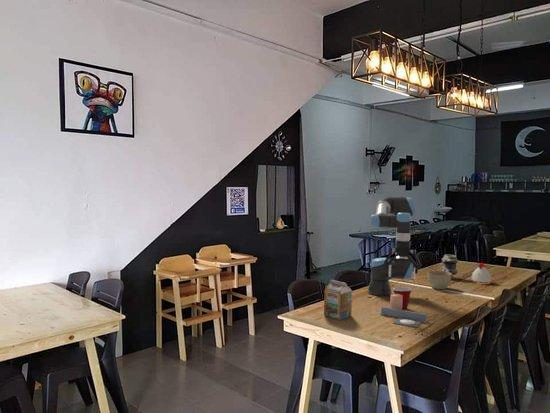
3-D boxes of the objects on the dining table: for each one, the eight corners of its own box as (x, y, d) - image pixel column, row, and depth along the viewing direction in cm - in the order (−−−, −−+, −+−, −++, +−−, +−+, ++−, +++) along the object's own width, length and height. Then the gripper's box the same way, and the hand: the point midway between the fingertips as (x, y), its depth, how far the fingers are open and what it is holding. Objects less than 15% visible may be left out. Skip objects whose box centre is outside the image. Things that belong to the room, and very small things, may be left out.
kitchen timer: (467, 282, 321) (468, 262, 320) (475, 279, 330) (476, 260, 330) (486, 285, 311) (487, 265, 310) (494, 282, 320) (495, 263, 319)
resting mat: (392, 323, 221) (392, 322, 221) (398, 317, 230) (398, 317, 230) (416, 327, 214) (416, 326, 214) (421, 322, 224) (421, 321, 224)
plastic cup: (397, 304, 256) (398, 284, 256) (414, 308, 249) (415, 288, 248) (388, 308, 249) (388, 287, 248) (405, 312, 241) (406, 291, 240)
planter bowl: (451, 286, 304) (452, 271, 304) (450, 291, 290) (451, 276, 289) (427, 284, 311) (428, 269, 311) (425, 289, 296) (426, 273, 296)
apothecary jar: (459, 280, 327) (460, 256, 326) (442, 279, 328) (443, 256, 328) (455, 276, 338) (455, 254, 338) (439, 276, 340) (439, 253, 339)
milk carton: (323, 315, 232) (324, 281, 231) (335, 311, 240) (336, 278, 239) (339, 320, 225) (340, 284, 224) (351, 316, 232) (352, 281, 231)
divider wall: (380, 314, 235) (380, 307, 235) (382, 313, 238) (382, 306, 238) (426, 322, 222) (426, 315, 222) (427, 321, 225) (427, 313, 225)
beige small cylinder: (388, 313, 238) (389, 295, 238) (392, 310, 244) (392, 293, 243) (400, 315, 235) (400, 297, 234) (403, 312, 240) (404, 294, 240)
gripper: (379, 239, 242) (378, 276, 242) (425, 242, 230) (424, 281, 231) (382, 238, 248) (381, 274, 249) (427, 241, 236) (426, 279, 237)
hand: (401, 277), depth 240 cm, fingers open, 13 cm apart
